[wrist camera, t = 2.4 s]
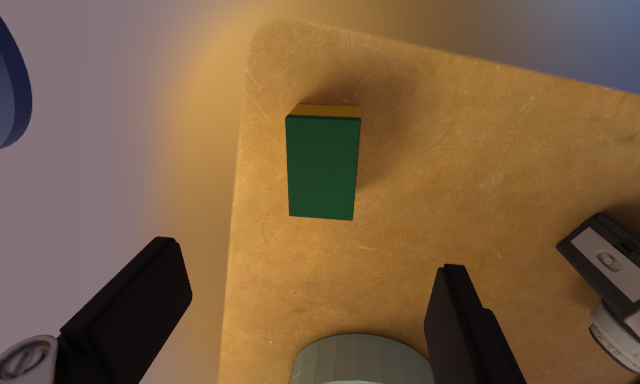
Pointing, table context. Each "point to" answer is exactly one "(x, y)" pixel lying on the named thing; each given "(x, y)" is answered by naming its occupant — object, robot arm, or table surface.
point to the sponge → (322, 160)
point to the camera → (610, 284)
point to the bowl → (360, 362)
